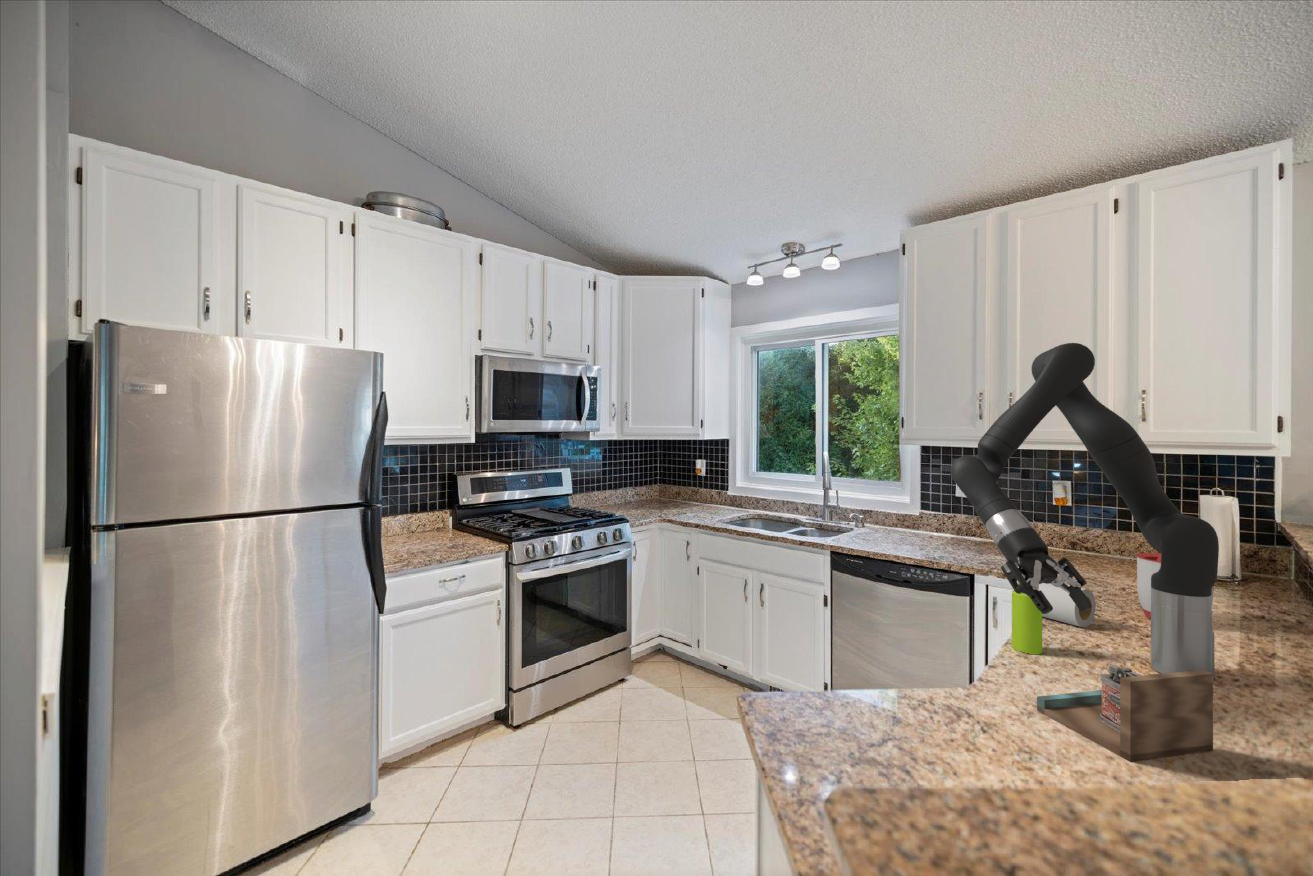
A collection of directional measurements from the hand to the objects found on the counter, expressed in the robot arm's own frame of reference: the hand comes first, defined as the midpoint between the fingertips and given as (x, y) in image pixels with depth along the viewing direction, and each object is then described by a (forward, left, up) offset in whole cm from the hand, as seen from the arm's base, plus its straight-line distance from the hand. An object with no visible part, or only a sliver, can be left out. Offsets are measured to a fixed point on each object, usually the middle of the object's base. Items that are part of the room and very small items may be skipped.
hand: (1068, 610), depth 100 cm
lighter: (0, +10, -17) cm, 20 cm away
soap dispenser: (-17, -25, -18) cm, 35 cm away
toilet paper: (-44, -40, -18) cm, 62 cm away
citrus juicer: (-74, -35, -18) cm, 84 cm away
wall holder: (-1, +8, -17) cm, 19 cm away
